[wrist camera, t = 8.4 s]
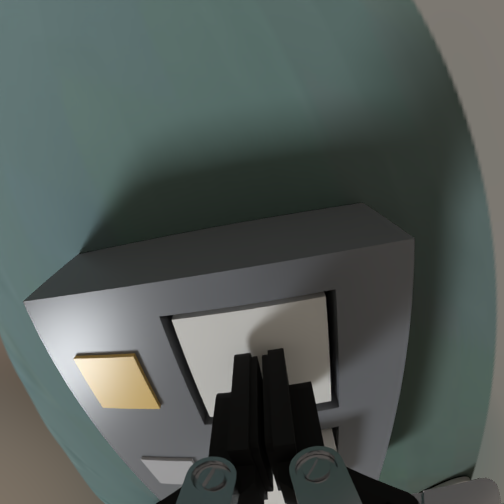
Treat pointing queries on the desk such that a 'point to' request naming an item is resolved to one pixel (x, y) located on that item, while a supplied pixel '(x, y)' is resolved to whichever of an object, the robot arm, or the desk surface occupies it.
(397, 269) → the button board
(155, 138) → the desk surface
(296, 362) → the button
